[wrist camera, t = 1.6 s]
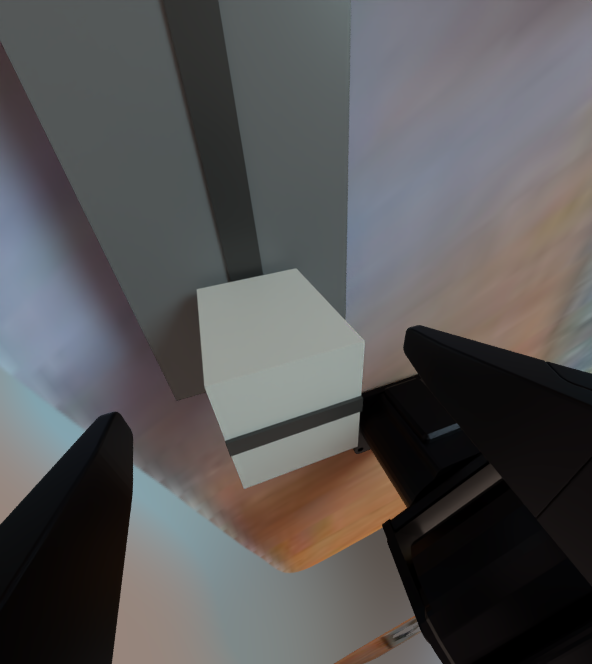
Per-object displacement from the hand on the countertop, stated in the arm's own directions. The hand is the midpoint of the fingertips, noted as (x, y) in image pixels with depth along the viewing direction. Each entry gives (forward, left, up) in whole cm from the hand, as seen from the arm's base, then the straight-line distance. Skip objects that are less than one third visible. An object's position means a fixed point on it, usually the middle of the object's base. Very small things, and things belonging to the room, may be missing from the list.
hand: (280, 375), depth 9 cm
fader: (0, 0, -3) cm, 3 cm away
